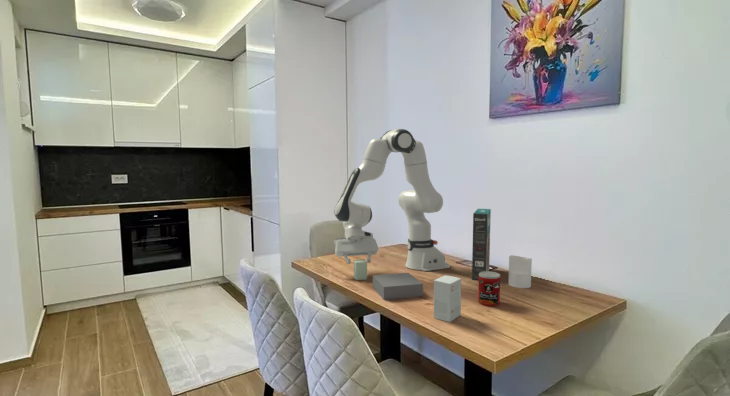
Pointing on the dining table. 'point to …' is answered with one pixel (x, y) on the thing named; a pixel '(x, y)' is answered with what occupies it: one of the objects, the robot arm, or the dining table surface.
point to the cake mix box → (481, 242)
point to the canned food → (489, 288)
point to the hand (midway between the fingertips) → (359, 262)
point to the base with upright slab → (520, 271)
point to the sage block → (360, 269)
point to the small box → (447, 298)
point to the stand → (397, 286)
